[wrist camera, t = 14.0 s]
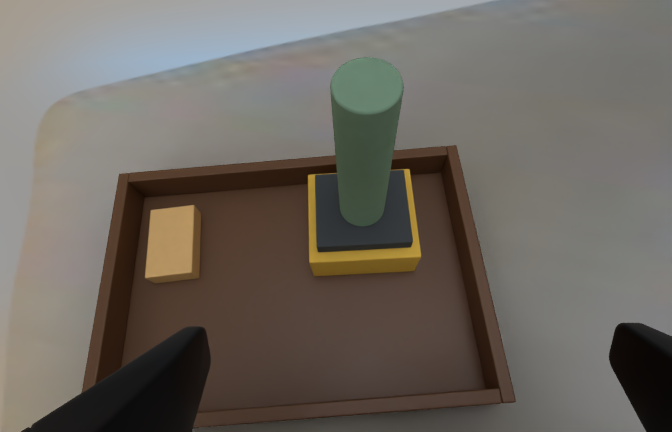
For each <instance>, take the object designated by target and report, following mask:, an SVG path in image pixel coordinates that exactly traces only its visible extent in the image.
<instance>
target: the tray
mask: <svg viewBox="0 0 672 432" xmlns="http://www.w3.org/2000/svg"><path fill="white" fill-rule="evenodd" d="M399 169H409V170H410V176H411V183H412V191H413V198H414V206H415V213H416V220H417V228H418V235H419V243H420V250H421V258H420V260H419V262H418V264H417V266H416V268H415V271H407V272H387V273H368V274H349V275H330V276H314V275H313V272H312V269H311V266H310V263H309V219H308V175H312V174H329V173H337V166H336V155H335V156H323V157H312V158H300V159H288V160H276V161H264V162H253V163H241V164H229V165H217V166H206V167H194V168H182V169H170V170H159V171H147V172H135V173H130V174H129V173H125V174H119V178H118V184H117V190H116V196H115V202H114V208H113V213H112V219H111V225H110V231H109V237H108V243H107V248H106V254H105V260H104V266H103V272H102V278H101V283H100V289H99V295H98V301H97V307H96V312H95V318H94V324H93V330H92V336H91V342H90V347H89V353H88V359H87V365H86V371H85V377H84V382H83V388H82V393H83V392H84V391H86V390H87V389H89V388H90V387H92V386H94V385H95V384H97V383H98V382H100V381H101V380H103V379H105V378H106V377H108V376H109V375H111V374H112V373H114V372H116V371H117V370H119V369H120V368H122V367H123V366H125V365H126V364H128V363H130V362H131V361H133V360H134V359H136V358H137V357H139V356H141V355H142V354H144V353H145V352H147V351H148V350H150V349H152V348H153V347H155V346H156V345H158V344H159V343H161V342H163V341H164V340H166V339H167V338H169V337H170V336H172V335H173V334H175V333H177V332H178V331H180V330H181V329H183V328H185V327H189V326H202V327H204V328H205V330H206V332H207V338H208V343H209V349H210V354H211V365H210V369H209V373H208V376H207V380H206V383H205V387H204V390H203V394H202V398H201V401H200V405H199V408H198V412H197V415H196V419H195V422H194V425H193V428H197V427H210V426H222V425H235V424H248V423H260V422H273V421H286V420H298V419H311V418H323V417H336V416H349V415H361V414H374V413H387V412H399V411H412V410H424V409H437V408H450V407H462V406H475V405H487V404H500V403H513V402H516V400H515V395H514V391H513V387H512V383H511V378H510V374H509V370H508V365H507V361H506V357H505V353H504V348H503V344H502V340H501V335H500V331H499V327H498V323H497V318H496V314H495V310H494V305H493V301H492V297H491V292H490V288H489V284H488V280H487V275H486V271H485V267H484V262H483V258H482V254H481V250H480V245H479V241H478V237H477V232H476V228H475V224H474V220H473V215H472V211H471V207H470V202H469V198H468V194H467V190H466V185H465V181H464V177H463V172H462V168H461V164H460V159H459V155H458V151H457V147H456V145H454V146H441V147H429V148H417V149H406V150H394V151H393V158H392V164H391V170H399ZM190 205H194V206H195V207H196V208H197V209H198V210H199V211H200V213H201V237H200V272H199V278H197V279H189V280H181V281H173V282H164V283H156V284H155V283H153V282H151V281H149V280H148V279H146V278H145V271H146V259H147V248H148V236H149V225H150V213H151V210H156V209H164V208H173V207H181V206H190Z"/></svg>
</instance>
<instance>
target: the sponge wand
mask: <svg viewBox="0 0 672 432" xmlns="http://www.w3.org/2000/svg"><path fill="white" fill-rule="evenodd" d="M403 88H404V86H403V80H402V77H401V75H400V73H399V72H398V71H397V69H396V68H395V67H394V66H392V65H391V64H390V63H388V62H386V61H383V60H381V59H377V58H370V57H365V58H358V59H354V60H351V61H349V62H347V63H345V64H343V65H342V66H341V67H340V68H339V69H338V70H337V71H336V72H335V74H334V76H333V78H332V80H331V85H330V89H331V102H332V115H333V128H334V140H335V153H336V166H337V173H329V174H312V175H308V219H309V263H310V266H311V269H312V272H313V275H314V276H330V275H349V274H368V273H387V272H407V271H415V268H416V266H417V264H418V262H419V260H420V258H421V250H420V243H419V235H418V228H417V220H416V213H415V206H414V198H413V191H412V183H411V176H410V170H409V169H399V170H391V164H392V158H393V151H394V145H395V139H396V133H397V126H398V120H399V114H400V108H401V101H402V95H403Z"/></svg>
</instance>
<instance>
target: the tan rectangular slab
mask: <svg viewBox="0 0 672 432" xmlns="http://www.w3.org/2000/svg"><path fill="white" fill-rule="evenodd" d="M200 237H201V213H200V211H199V210H198V209H197V208H196V207H195V206H194V205H190V206H181V207H173V208H164V209H156V210H151V213H150V225H149V236H148V248H147V259H146V271H145V278H146V279H148V280H149V281H151V282H153V283H155V284H156V283H164V282H173V281H181V280H189V279H197V278H199V272H200Z"/></svg>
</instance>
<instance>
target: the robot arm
mask: <svg viewBox="0 0 672 432" xmlns="http://www.w3.org/2000/svg"><path fill="white" fill-rule="evenodd" d="M609 360H610V364H611V367H612V369H613V371H614V372H615V374H616V376H617V378H618V380H619V382H620V384H621V386H622V387H623V389H624V391H625V393H626V395H627V397H628V399H629V401H630V402H631V404H632V406H633V408H634V410H635V412H636V414H637V415H638V417H639V419H640V421H641V423H642V425H643V426H644V428H645V430H646V432H672V336H669V335H667V334H665V333H663V332H660V331H658V330H656V329H653V328H651V327H649V326H646V325H644V324H641V323H621V324H619V325H617V327H616V329H615V332H614V336H613V340H612V345H611V349H610V353H609ZM210 365H211V354H210V349H209V343H208V338H207V332H206V330H205V328H204V327H202V326H189V327H185V328H183V329H181V330H180V331H178V332H177V333H175V334H173V335H172V336H170V337H169V338H167V339H166V340H164V341H163V342H161V343H159V344H158V345H156V346H155V347H153V348H152V349H150V350H148V351H147V352H145V353H144V354H142V355H141V356H139V357H137V358H136V359H134V360H133V361H131V362H130V363H128V364H126V365H125V366H123V367H122V368H120V369H119V370H117V371H116V372H114V373H112V374H111V375H109V376H108V377H106V378H105V379H103V380H101V381H100V382H98V383H97V384H95V385H94V386H92V387H90V388H89V389H87V390H86V391H84V392H83V393H81V394H79V395H78V396H76V397H75V398H73V399H72V400H70V401H68V402H67V403H65V404H64V405H62V406H61V407H59V408H57V409H56V410H54V411H53V412H51V413H50V414H48V415H47V416H45V417H43V418H42V419H40V420H39V421H37V422H36V423H34V424H33V425H32V426H31V428H29V427H28V428H26V429H24V430H23V431H21V432H192V429H193V425H194V422H195V419H196V415H197V412H198V408H199V405H200V401H201V398H202V394H203V390H204V387H205V383H206V380H207V376H208V373H209V369H210Z"/></svg>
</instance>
